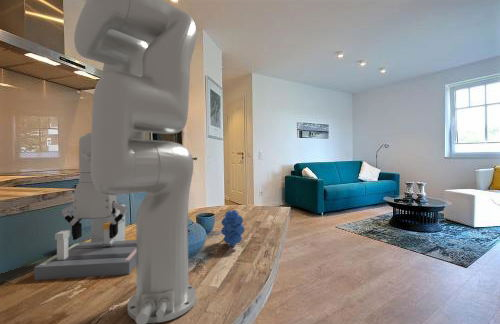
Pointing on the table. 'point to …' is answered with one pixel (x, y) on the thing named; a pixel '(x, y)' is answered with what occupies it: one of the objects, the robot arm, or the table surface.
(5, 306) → the table surface
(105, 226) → the lever
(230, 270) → the table surface
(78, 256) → the switch panel
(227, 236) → the grapes
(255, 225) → the table surface
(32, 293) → the table surface
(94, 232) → the supplement box
